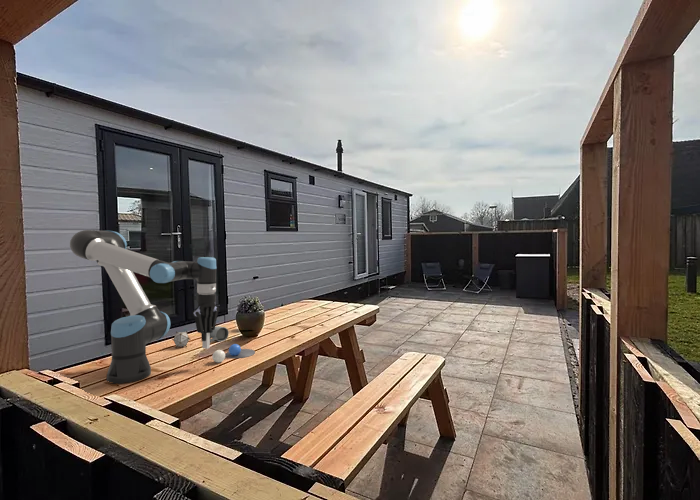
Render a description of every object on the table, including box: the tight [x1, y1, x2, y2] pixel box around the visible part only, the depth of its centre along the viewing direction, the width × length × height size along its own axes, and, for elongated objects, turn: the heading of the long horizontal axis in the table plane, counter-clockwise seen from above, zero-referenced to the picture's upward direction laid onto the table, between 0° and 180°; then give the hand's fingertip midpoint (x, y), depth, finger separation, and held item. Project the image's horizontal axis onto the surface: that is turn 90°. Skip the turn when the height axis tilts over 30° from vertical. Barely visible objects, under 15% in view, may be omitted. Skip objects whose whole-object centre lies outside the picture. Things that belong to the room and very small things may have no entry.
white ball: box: [212, 349, 226, 363], centre depth 160 cm, size 6×6×6 cm
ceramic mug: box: [210, 325, 230, 343], centre depth 196 cm, size 11×8×8 cm
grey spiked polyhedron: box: [171, 330, 191, 349], centre depth 184 cm, size 9×8×10 cm
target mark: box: [224, 348, 256, 359], centre depth 172 cm, size 14×14×1 cm
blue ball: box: [228, 343, 242, 356], centre depth 169 cm, size 6×6×6 cm
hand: (206, 347), depth 154 cm, fingers closed
